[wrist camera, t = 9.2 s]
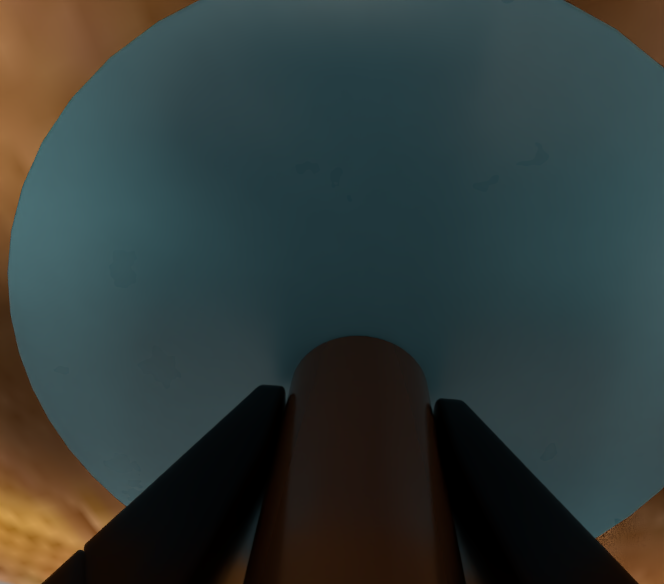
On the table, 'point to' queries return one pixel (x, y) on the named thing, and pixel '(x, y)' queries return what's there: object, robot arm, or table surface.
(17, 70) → the table surface
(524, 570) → the robot arm
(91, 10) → the table surface
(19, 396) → the table surface
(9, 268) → the tin lid
